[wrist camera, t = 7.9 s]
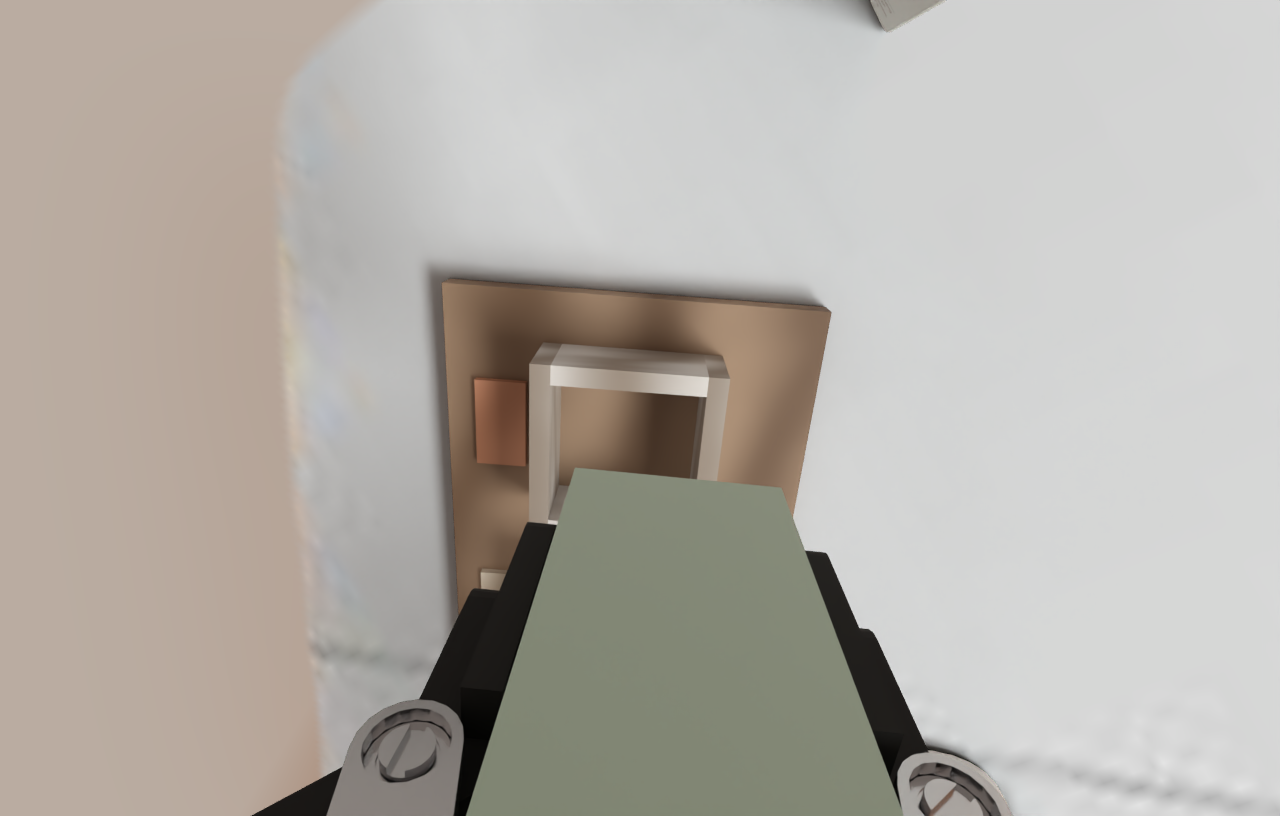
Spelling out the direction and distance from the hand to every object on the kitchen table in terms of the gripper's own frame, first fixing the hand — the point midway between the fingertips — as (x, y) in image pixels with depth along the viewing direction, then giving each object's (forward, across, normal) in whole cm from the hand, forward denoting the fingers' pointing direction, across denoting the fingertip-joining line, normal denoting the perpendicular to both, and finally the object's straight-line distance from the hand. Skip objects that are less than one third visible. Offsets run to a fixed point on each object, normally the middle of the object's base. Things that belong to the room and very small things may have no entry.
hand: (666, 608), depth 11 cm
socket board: (+17, +1, +8) cm, 19 cm away
